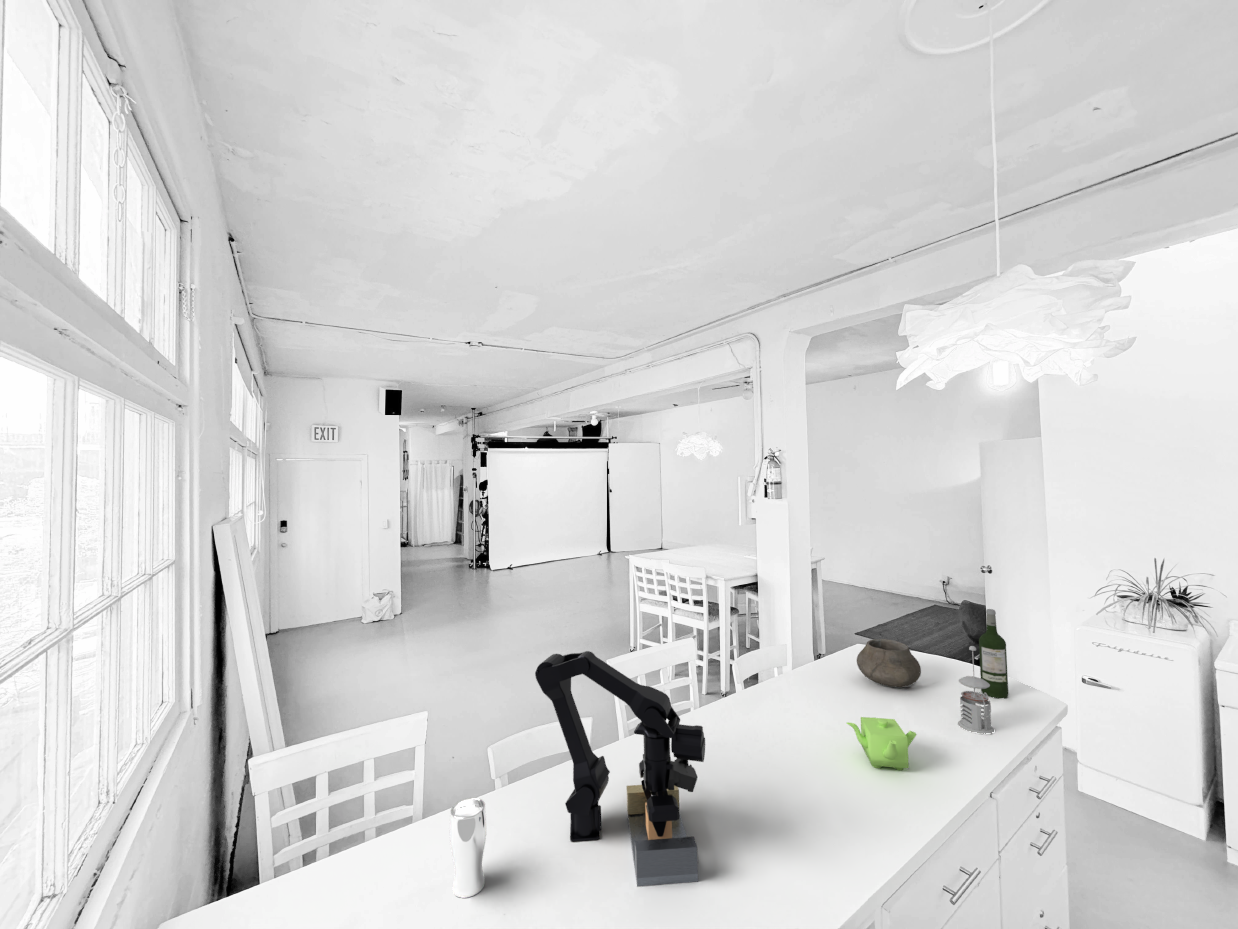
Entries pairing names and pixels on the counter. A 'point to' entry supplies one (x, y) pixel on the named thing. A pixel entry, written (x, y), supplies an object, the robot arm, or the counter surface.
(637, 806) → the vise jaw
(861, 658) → the clay pot
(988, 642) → the wine bottle
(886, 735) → the kettle
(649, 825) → the block
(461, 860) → the beer glass
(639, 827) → the vise bed
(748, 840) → the counter surface
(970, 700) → the french press
